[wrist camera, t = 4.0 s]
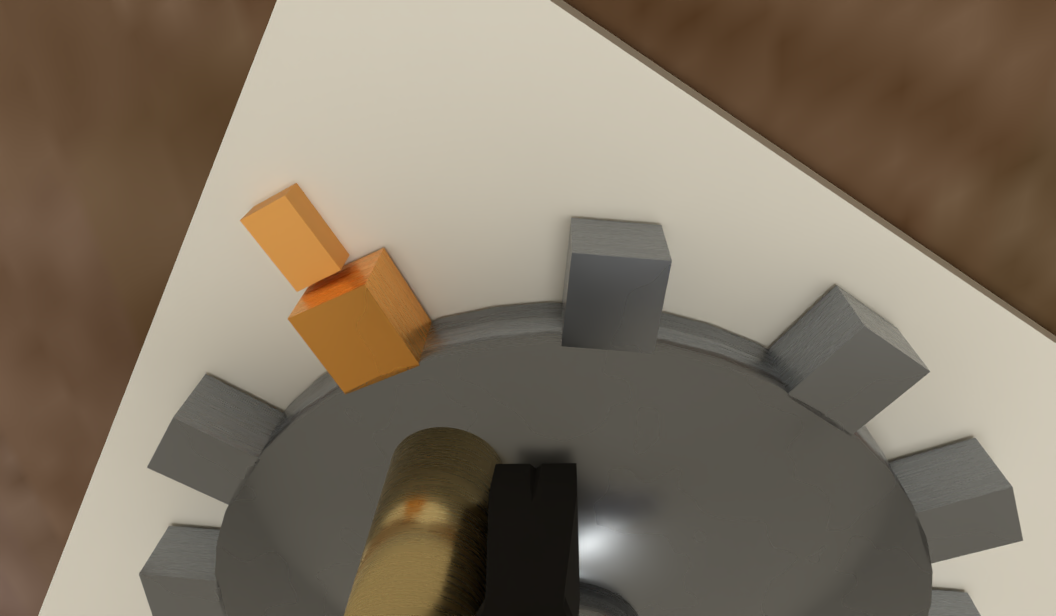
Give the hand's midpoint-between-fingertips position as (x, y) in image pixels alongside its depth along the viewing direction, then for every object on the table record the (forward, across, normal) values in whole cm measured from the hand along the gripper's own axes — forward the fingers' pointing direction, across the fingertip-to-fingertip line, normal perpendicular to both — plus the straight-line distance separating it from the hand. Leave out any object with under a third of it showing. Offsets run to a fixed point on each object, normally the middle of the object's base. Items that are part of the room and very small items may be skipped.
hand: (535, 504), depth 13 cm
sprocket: (+2, 0, +5) cm, 6 cm away
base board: (+4, 0, +5) cm, 6 cm away
